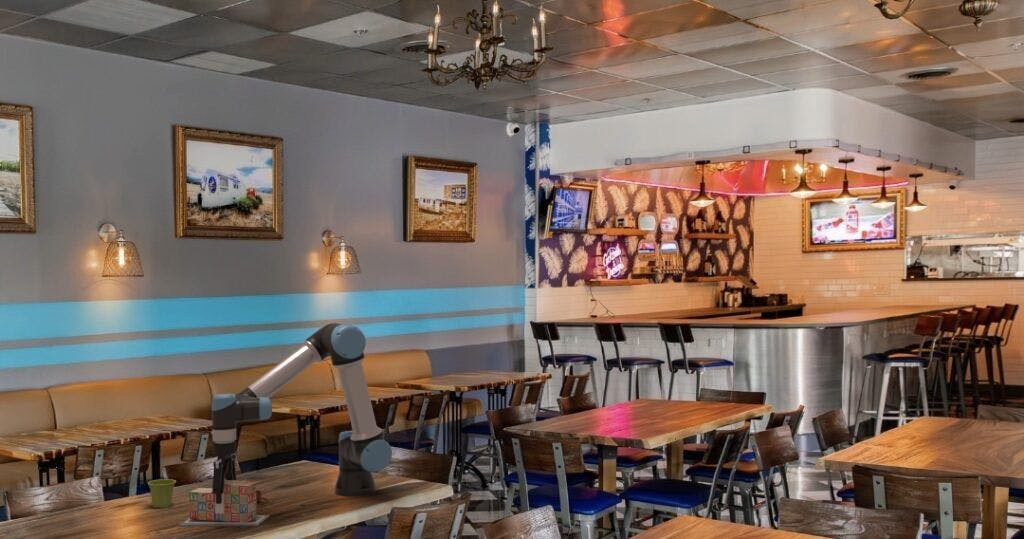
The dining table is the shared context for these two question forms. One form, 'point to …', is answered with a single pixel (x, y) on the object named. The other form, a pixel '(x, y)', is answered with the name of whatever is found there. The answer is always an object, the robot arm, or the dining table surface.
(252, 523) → the blueprint baseplate
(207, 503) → the stack of blocks
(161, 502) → the plant pot
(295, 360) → the robot arm
